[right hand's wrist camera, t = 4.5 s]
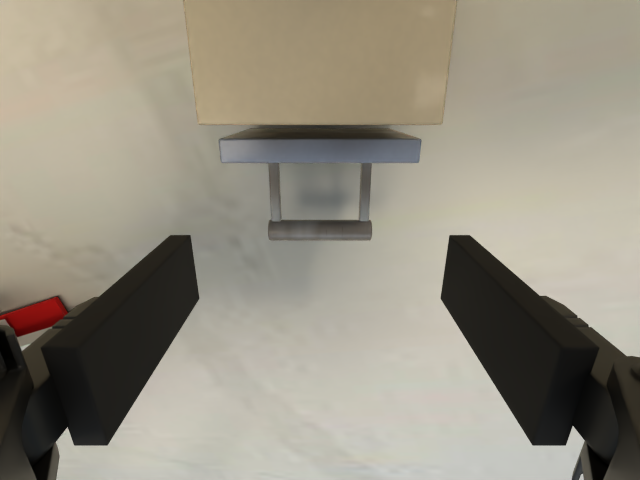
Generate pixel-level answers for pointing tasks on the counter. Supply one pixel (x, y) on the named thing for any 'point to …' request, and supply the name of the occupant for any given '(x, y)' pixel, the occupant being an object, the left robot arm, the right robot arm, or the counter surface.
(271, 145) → the drawer
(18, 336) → the toy
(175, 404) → the counter surface
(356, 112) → the cabinet
